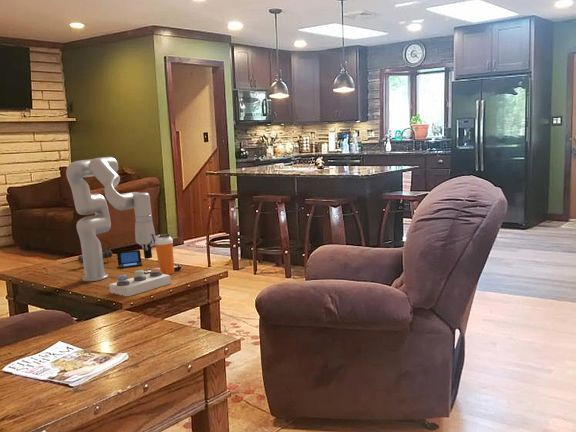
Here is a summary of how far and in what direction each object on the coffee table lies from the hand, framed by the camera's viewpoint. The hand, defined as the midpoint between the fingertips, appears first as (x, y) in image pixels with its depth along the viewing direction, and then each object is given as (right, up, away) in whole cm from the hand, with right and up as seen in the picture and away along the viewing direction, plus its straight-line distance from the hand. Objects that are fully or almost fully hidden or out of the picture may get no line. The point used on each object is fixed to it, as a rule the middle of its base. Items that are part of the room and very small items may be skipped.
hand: (148, 258), depth 284 cm
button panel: (-3, -14, -2) cm, 14 cm away
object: (-21, -8, +49) cm, 54 cm away
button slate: (-9, -9, -10) cm, 16 cm away
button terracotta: (+3, -7, +3) cm, 8 cm away
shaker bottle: (+4, -10, +23) cm, 25 cm away
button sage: (-3, -7, -3) cm, 9 cm away
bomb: (-46, -9, +56) cm, 73 cm away
